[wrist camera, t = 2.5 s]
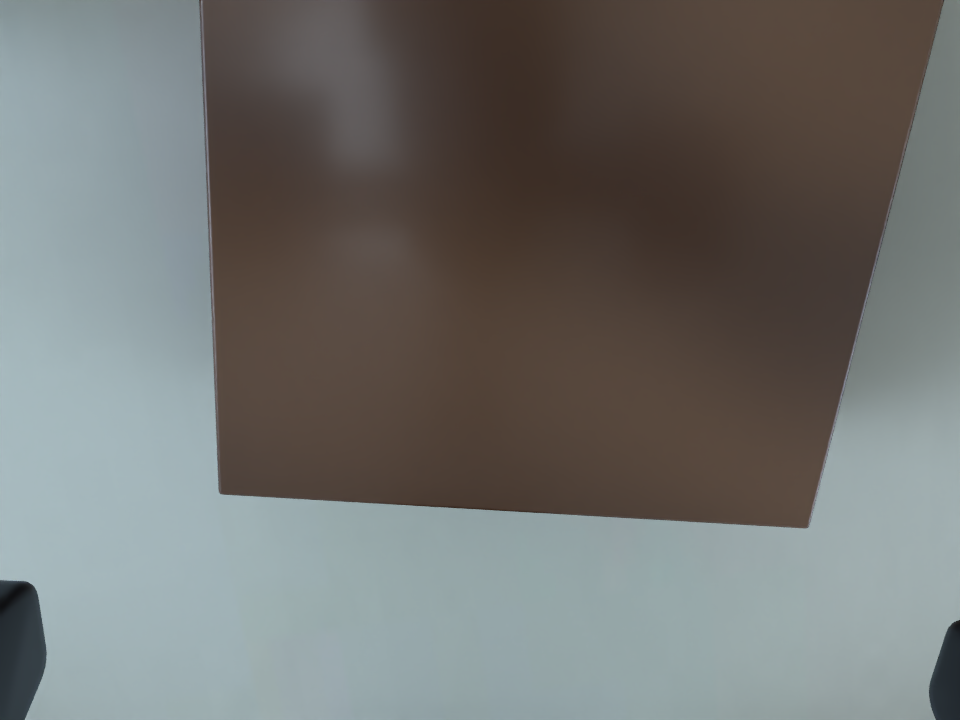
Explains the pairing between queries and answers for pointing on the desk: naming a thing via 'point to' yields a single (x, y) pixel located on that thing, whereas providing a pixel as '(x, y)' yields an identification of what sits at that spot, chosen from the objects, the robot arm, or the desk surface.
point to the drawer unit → (547, 246)
